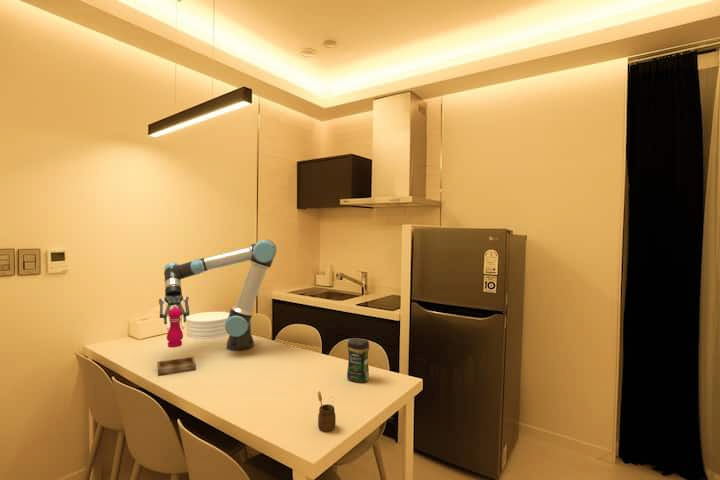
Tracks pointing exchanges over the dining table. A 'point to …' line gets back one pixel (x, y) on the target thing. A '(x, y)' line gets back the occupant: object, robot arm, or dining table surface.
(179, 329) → the pepper mill
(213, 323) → the plate stack
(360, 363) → the coffee jar
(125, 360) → the dining table surface
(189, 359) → the tray
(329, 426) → the utensil holder
